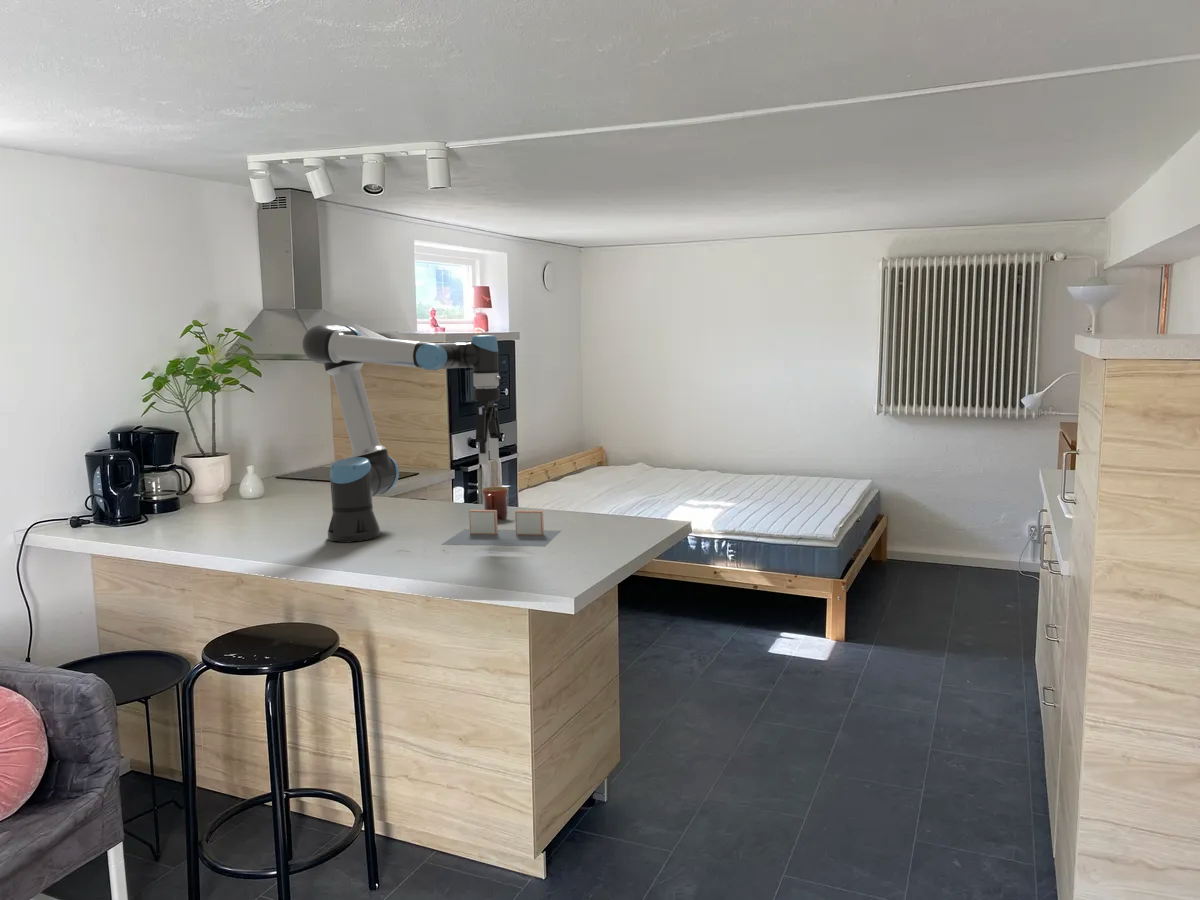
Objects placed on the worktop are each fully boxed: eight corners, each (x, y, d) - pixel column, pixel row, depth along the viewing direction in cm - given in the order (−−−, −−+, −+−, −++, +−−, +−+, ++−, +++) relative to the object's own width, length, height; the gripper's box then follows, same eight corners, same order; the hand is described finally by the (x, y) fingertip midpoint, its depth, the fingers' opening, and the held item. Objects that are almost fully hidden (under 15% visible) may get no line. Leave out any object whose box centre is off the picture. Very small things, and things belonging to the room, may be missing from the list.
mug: (487, 517, 289) (486, 486, 287) (513, 517, 287) (512, 486, 286) (475, 524, 277) (474, 492, 276) (501, 525, 275) (500, 493, 274)
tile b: (515, 535, 255) (514, 511, 254) (517, 533, 257) (516, 510, 256) (542, 535, 253) (541, 511, 253) (543, 534, 255) (543, 510, 254)
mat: (441, 548, 245) (441, 544, 245) (464, 532, 265) (464, 529, 265) (545, 550, 240) (545, 546, 240) (561, 534, 260) (561, 530, 260)
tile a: (469, 534, 257) (468, 510, 256) (471, 532, 259) (470, 509, 258) (496, 534, 256) (495, 511, 255) (497, 533, 258) (496, 510, 257)
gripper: (487, 389, 249) (490, 467, 251) (509, 385, 270) (511, 456, 273) (462, 389, 250) (465, 467, 253) (485, 385, 272) (488, 456, 274)
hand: (489, 461), depth 263 cm, fingers open, 10 cm apart
